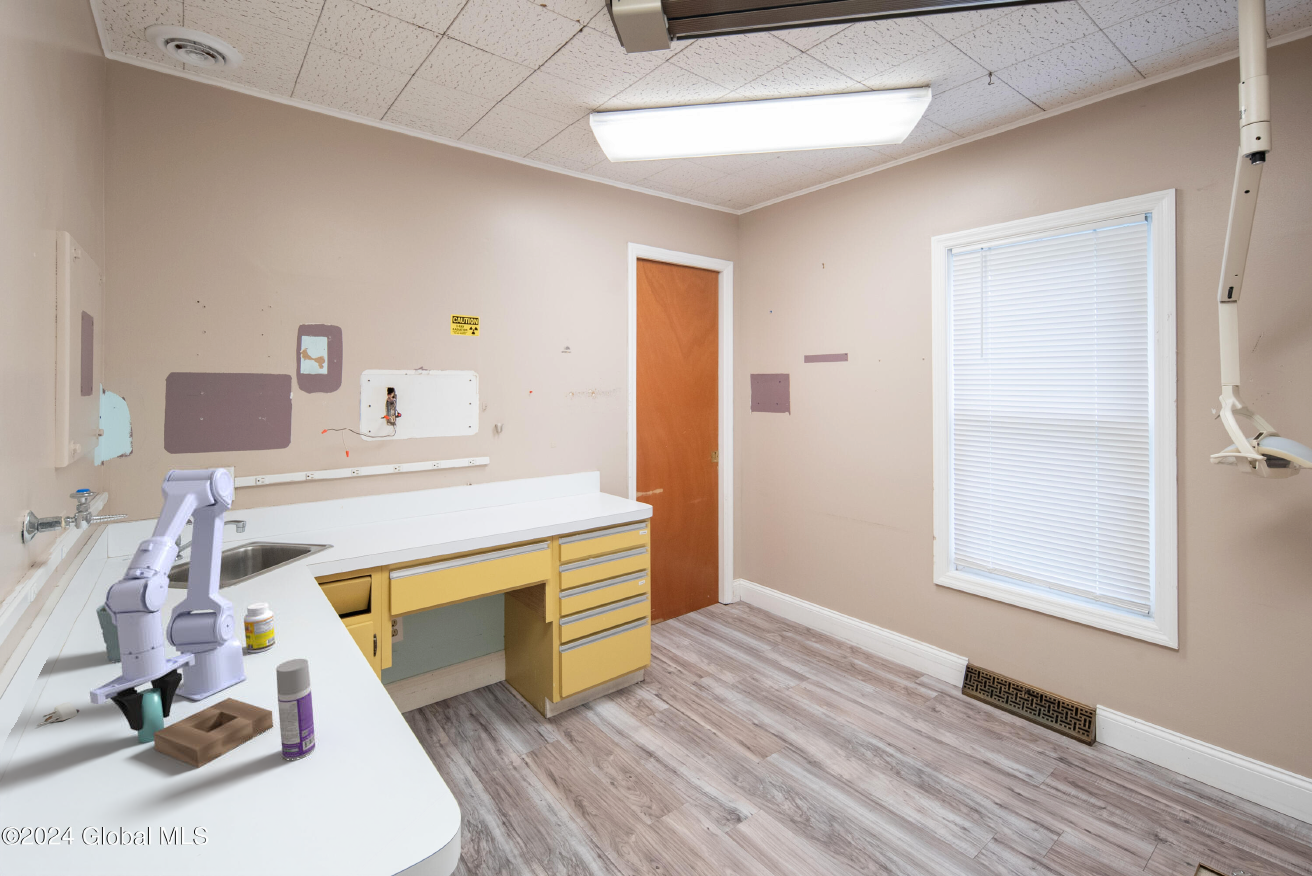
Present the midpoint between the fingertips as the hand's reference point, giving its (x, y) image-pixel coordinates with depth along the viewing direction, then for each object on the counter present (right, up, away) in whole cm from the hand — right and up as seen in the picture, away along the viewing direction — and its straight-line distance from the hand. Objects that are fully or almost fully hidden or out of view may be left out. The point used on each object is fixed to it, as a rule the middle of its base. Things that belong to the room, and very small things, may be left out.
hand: (150, 722), depth 104 cm
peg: (0, -3, 0) cm, 3 cm away
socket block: (+12, -3, 0) cm, 12 cm away
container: (+28, -3, -5) cm, 29 cm away
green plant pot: (-32, 0, +33) cm, 45 cm away
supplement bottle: (-4, +1, +34) cm, 35 cm away
